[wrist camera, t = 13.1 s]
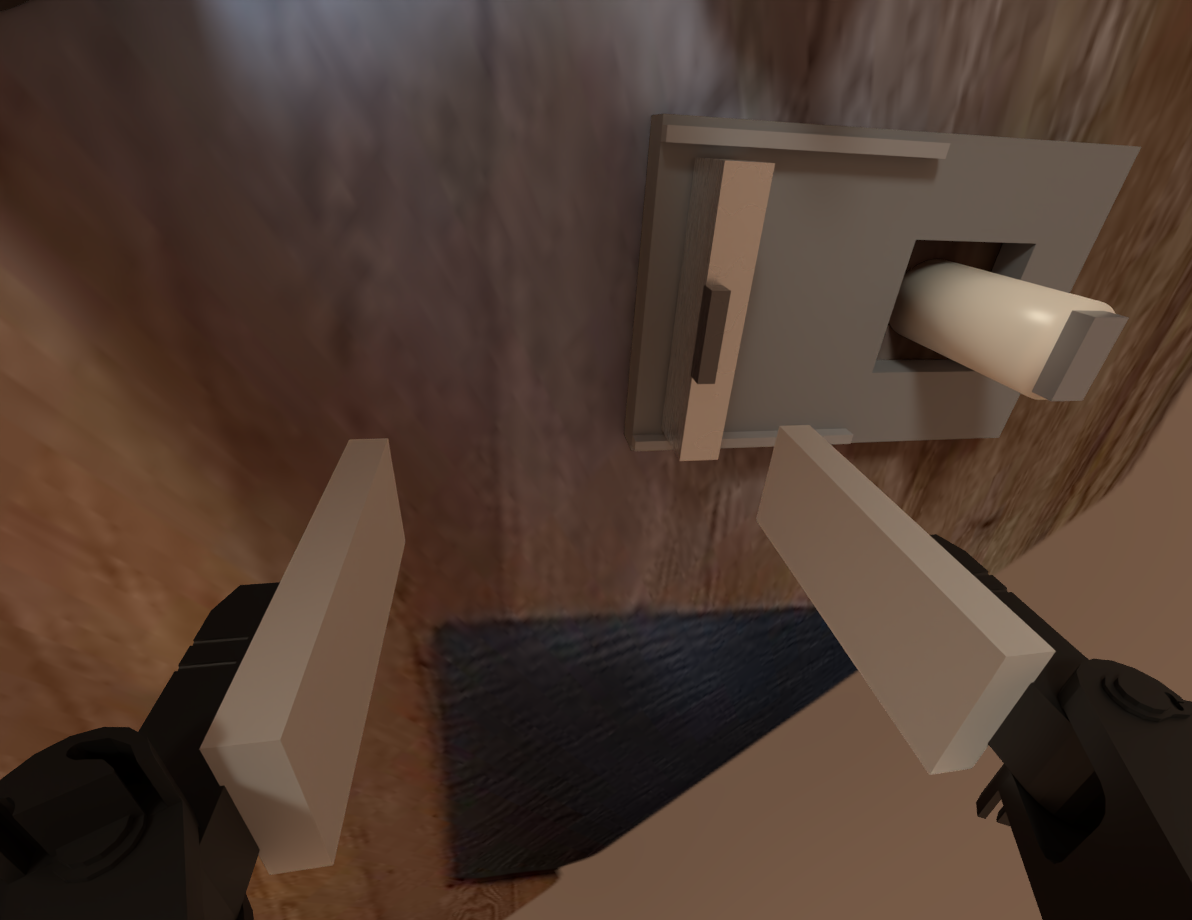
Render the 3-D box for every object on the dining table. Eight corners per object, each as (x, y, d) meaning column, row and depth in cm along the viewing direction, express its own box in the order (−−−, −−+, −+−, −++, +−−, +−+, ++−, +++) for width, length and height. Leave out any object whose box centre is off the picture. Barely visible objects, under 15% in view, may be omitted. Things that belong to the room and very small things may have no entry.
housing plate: (624, 434, 32) (634, 457, 30) (651, 115, 24) (668, 112, 21) (975, 423, 36) (1008, 443, 33) (1101, 146, 28) (1158, 146, 25)
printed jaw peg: (877, 336, 31) (1018, 410, 23) (903, 257, 29) (1070, 306, 21) (943, 337, 32) (1104, 408, 24) (973, 259, 30) (1163, 307, 21)
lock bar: (659, 428, 29) (683, 471, 26) (693, 157, 23) (732, 161, 19) (696, 427, 30) (725, 470, 26) (739, 160, 23) (787, 164, 19)
